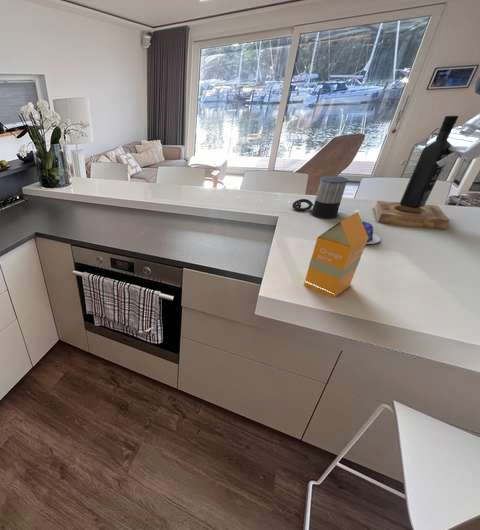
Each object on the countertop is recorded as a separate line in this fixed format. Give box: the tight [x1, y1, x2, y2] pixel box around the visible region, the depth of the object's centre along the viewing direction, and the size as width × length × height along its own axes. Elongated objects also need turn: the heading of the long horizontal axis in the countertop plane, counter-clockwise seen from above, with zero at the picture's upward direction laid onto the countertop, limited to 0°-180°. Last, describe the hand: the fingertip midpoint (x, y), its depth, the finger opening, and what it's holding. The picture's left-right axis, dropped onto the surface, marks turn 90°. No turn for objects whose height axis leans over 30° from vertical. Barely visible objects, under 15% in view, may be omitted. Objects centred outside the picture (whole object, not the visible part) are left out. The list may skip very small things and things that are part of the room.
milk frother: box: [292, 175, 349, 219], centre depth 118 cm, size 14×16×15 cm
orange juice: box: [303, 212, 368, 299], centre depth 73 cm, size 8×9×20 cm
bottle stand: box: [374, 200, 450, 230], centre depth 109 cm, size 18×17×4 cm
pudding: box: [362, 221, 381, 245], centre depth 98 cm, size 12×12×5 cm
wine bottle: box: [399, 115, 459, 208], centre depth 99 cm, size 6×6×30 cm
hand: (429, 162), depth 99 cm, fingers closed on wine bottle, 7 cm apart
